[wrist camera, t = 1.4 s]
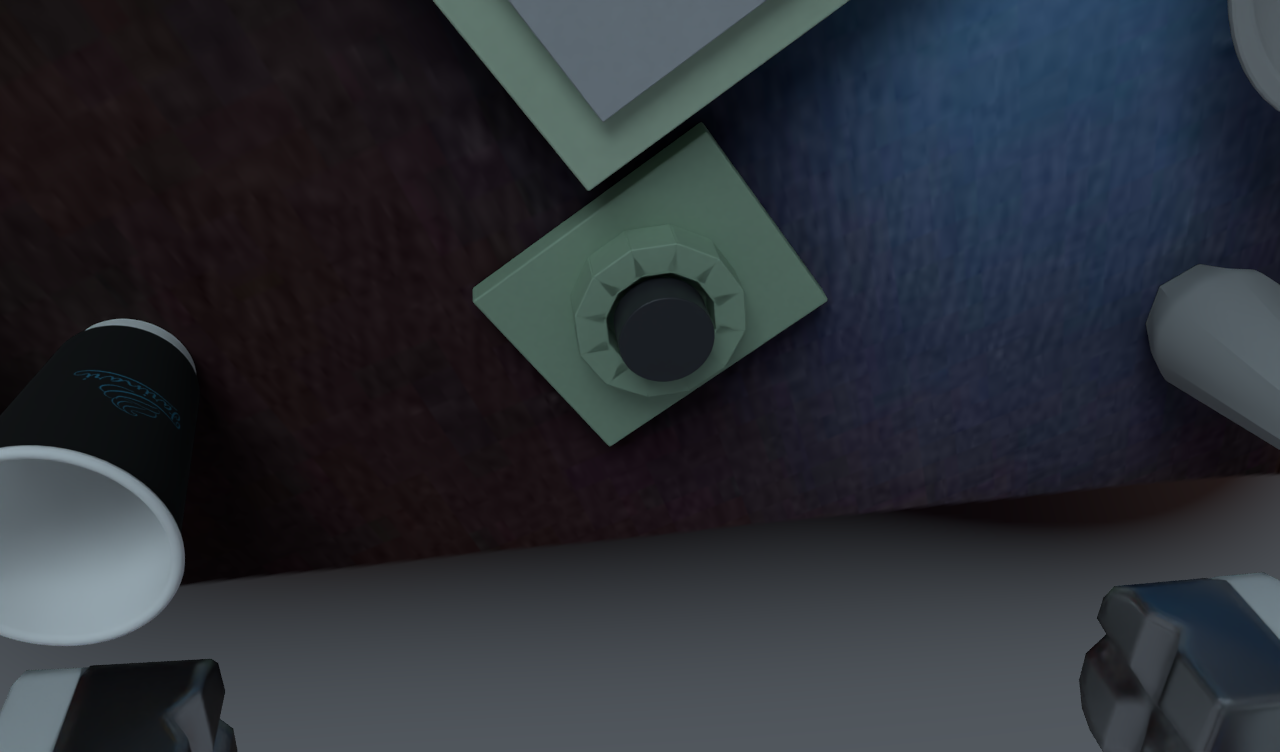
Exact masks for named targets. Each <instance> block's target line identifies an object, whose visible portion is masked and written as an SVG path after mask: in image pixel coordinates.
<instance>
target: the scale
mask: <svg viewBox="0 0 1280 752" xmlns="http://www.w3.org/2000/svg"><path fill="white" fill-rule="evenodd" d="M848 1H849V0H433V2H434V3H435V4H436V5H437V7H438V8H439V9H440V10H441V11H442V13H443V14H444V15H445V16H446V18H447V19H448V20H449V21H450V23H451V24H452V25H453V26H454V27H455V29H456V30H457V31H458V32H459V34H460V35H461V36H462V37H463V39H464V40H465V41H466V42H467V43H468V45H469V46H470V47H471V48H472V50H473V51H474V52H475V53H476V54H477V56H478V57H479V58H480V59H481V61H482V62H483V63H484V64H485V66H486V67H487V68H488V69H489V70H490V72H491V73H492V74H493V75H494V77H495V78H496V79H497V80H498V81H499V83H500V84H501V85H502V86H503V88H504V89H505V90H506V91H507V93H508V94H509V95H510V96H511V97H512V99H513V100H514V101H515V102H516V104H517V105H518V106H519V107H520V108H521V110H522V111H523V112H524V113H525V115H526V116H527V117H528V118H529V120H530V121H531V122H532V123H533V124H534V126H535V127H536V128H537V129H538V131H539V132H540V133H541V134H542V135H543V137H544V138H545V139H546V140H547V142H548V143H549V144H550V145H551V147H552V148H553V149H554V150H555V151H556V153H557V154H558V155H559V156H560V158H561V159H562V160H563V161H564V163H565V164H566V165H567V166H568V167H569V169H570V170H571V171H572V172H573V174H574V175H575V176H576V177H577V178H578V180H579V181H580V182H581V183H582V185H583V186H584V187H585V188H586V190H588V191H589V190H591V189H593V188H594V187H595V186H597V185H598V184H599V183H601V182H602V181H604V180H605V179H606V178H608V177H609V176H610V175H612V174H613V173H614V172H616V171H617V170H619V169H620V168H621V167H623V166H624V165H625V164H627V163H628V162H629V161H631V160H632V159H634V158H635V157H636V156H638V155H639V154H640V153H642V152H643V151H645V150H646V149H647V148H649V147H650V146H651V145H653V144H654V143H655V142H657V141H658V140H660V139H661V138H662V137H664V136H665V135H666V134H668V133H669V132H670V131H672V130H673V129H675V128H676V127H677V126H679V125H680V124H681V123H683V122H684V121H685V120H687V119H688V118H690V117H691V116H692V115H694V114H695V113H696V112H698V111H699V110H700V109H702V108H703V107H705V106H706V105H707V104H709V103H710V102H711V101H713V100H714V99H716V98H717V97H718V96H720V95H721V94H722V93H724V92H725V91H726V90H728V89H729V88H731V87H732V86H733V85H735V84H736V83H737V82H739V81H740V80H741V79H743V78H744V77H746V76H747V75H748V74H750V73H751V72H752V71H754V70H755V69H756V68H758V67H759V66H761V65H762V64H763V63H765V62H766V61H767V60H769V59H770V58H772V57H773V56H774V55H776V54H777V53H778V52H780V51H781V50H782V49H784V48H785V47H787V46H788V45H789V44H791V43H792V42H793V41H795V40H796V39H797V38H799V37H800V36H802V35H803V34H804V33H806V32H807V31H808V30H810V29H811V28H812V27H814V26H815V25H817V24H818V23H819V22H821V21H822V20H823V19H825V18H826V17H828V16H829V15H830V14H832V13H833V12H834V11H836V10H837V9H838V8H840V7H841V6H843V5H844V4H845V3H847V2H848Z"/></svg>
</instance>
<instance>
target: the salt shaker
mask: <svg viewBox="0 0 1280 752" xmlns="http://www.w3.org/2000/svg"><path fill="white" fill-rule="evenodd" d="M1146 328H1147V333H1148V338H1149V344H1150V349H1151V353H1152V355H1153V357H1154V360H1155V362H1156V364H1157V366H1158V368H1159V370H1160V372H1161V374H1162V375H1163V377H1164V379H1165V380H1166V381H1168V382H1169V383H1171V384H1172V385H1174V386H1176V387H1177V388H1179V389H1181V390H1182V391H1184V392H1185V393H1187V394H1189V395H1190V396H1192V397H1194V398H1195V399H1197V400H1199V401H1200V402H1202V403H1203V404H1205V405H1207V406H1208V407H1210V408H1212V409H1213V410H1215V411H1217V412H1218V413H1220V414H1222V415H1223V416H1225V417H1227V418H1228V419H1230V420H1232V421H1233V422H1235V423H1236V424H1238V425H1240V426H1241V427H1243V428H1245V429H1246V430H1248V431H1250V432H1251V433H1253V434H1255V435H1256V436H1258V437H1260V438H1261V439H1263V440H1264V441H1266V442H1268V443H1269V444H1271V445H1273V446H1274V447H1276V448H1278V449H1279V450H1280V285H1279V284H1278V283H1276V282H1274V281H1273V280H1271V279H1270V278H1268V277H1267V276H1265V275H1264V274H1262V273H1260V272H1258V271H1256V270H1250V269H1227V268H1220V267H1214V266H1208V265H1202V264H1198V265H1196V266H1194V267H1193V268H1191V269H1189V270H1187V271H1186V272H1184V273H1182V274H1181V275H1179V276H1177V277H1175V278H1174V279H1172V280H1170V281H1168V282H1167V283H1165V284H1163V285H1161V286H1160V287H1159V290H1158V292H1157V295H1156V298H1155V300H1154V303H1153V305H1152V308H1151V311H1150V313H1149V316H1148V319H1147V321H1146Z"/></svg>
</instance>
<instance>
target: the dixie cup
mask: <svg viewBox="0 0 1280 752" xmlns="http://www.w3.org/2000/svg"><path fill="white" fill-rule="evenodd" d="M199 400H200V387H199V382H198V378H197V375H196V369H195V365H194V362H193V360H192V358H191V355H190V354H189V352H188V351H187V349H186V348H185V347H184V345H183V344H182V343H181V342H180V341H179V340H178V339H177V338H175V337H174V336H173V335H172V334H170V333H169V332H167V331H165V330H164V329H162V328H160V327H158V326H155V325H153V324H150V323H147V322H144V321H139V320H133V319H113V320H107V321H103V322H100V323H97V324H95V325H93V326H91V327H89V328H87V329H86V330H85V331H83V332H80V333H78V334H77V335H75V336H73V337H71V338H70V339H69V340H67V341H66V342H65V343H64V344H63V345H62V346H61V347H60V348H59V349H58V350H57V352H56V353H55V354H54V355H53V356H52V357H51V358H50V360H49V361H48V362H47V363H46V364H45V365H44V366H43V367H42V369H41V370H40V371H39V372H38V373H37V374H36V375H35V377H34V378H33V379H32V380H31V381H30V382H29V383H28V384H27V386H26V387H25V388H24V389H23V390H22V391H21V392H20V394H19V395H18V396H17V397H16V398H15V399H14V400H13V401H12V403H11V404H10V405H9V406H8V407H7V408H6V409H5V411H4V412H3V413H2V414H1V415H0V635H1V636H4V637H7V638H11V639H14V640H18V641H23V642H27V643H34V644H40V645H50V646H79V645H89V644H95V643H100V642H105V641H108V640H113V639H115V638H119V637H122V636H124V635H126V634H129V633H131V632H133V631H135V630H137V629H139V628H141V627H143V626H144V625H146V624H147V623H149V622H150V621H151V620H153V619H154V618H155V617H156V616H157V615H159V614H160V613H161V612H162V611H163V610H164V609H165V607H166V606H167V605H168V604H169V602H170V601H171V600H172V599H173V597H174V595H175V594H176V592H177V590H178V588H179V586H180V583H181V580H182V577H183V573H184V566H185V552H184V544H183V540H182V536H181V530H182V522H183V515H184V508H185V501H186V494H187V487H188V479H189V472H190V465H191V458H192V451H193V444H194V436H195V429H196V422H197V415H198V408H199Z"/></svg>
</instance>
